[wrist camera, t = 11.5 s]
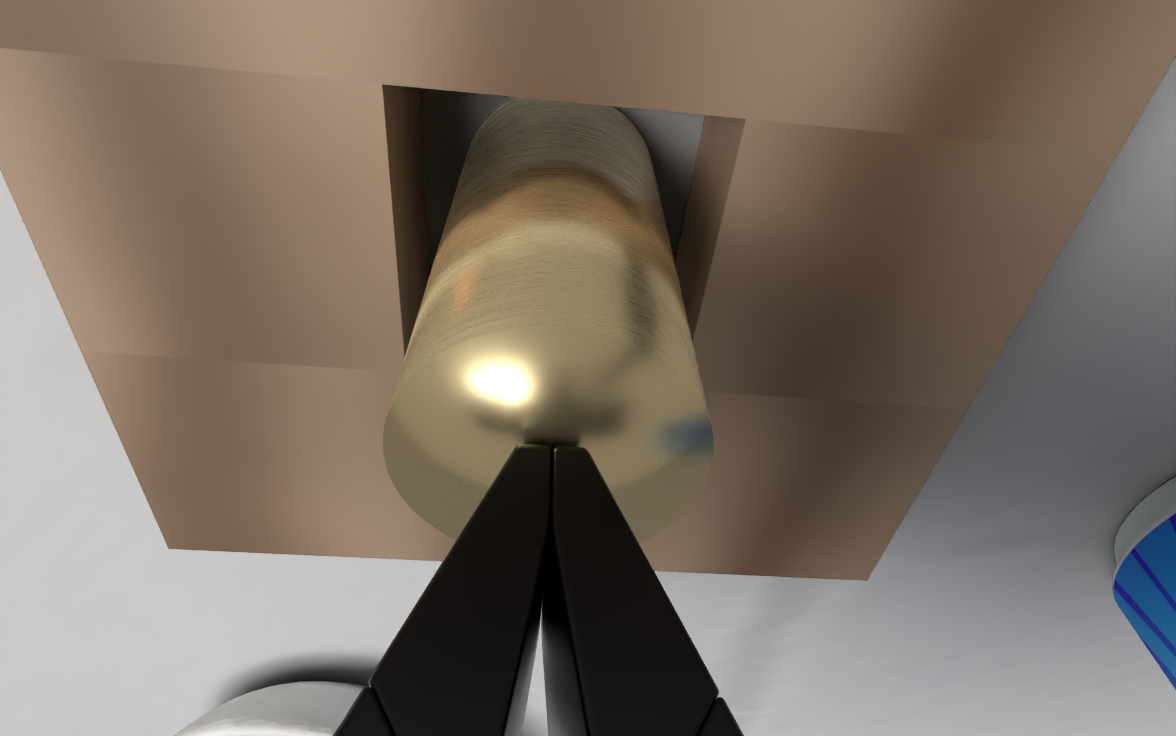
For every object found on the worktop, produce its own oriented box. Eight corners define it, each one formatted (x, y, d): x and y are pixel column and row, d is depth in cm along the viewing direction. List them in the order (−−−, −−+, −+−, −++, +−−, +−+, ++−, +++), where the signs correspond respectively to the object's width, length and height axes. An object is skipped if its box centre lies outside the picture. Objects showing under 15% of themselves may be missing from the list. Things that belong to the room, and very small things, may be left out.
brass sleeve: (668, 98, 14) (749, 341, 7) (638, 274, 16) (680, 567, 10) (462, 78, 13) (366, 315, 7) (464, 261, 16) (394, 553, 10)
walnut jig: (1238, -352, 10) (1446, -403, 8) (833, 494, 21) (867, 580, 19) (-124, -563, 9) (-388, -706, 6) (216, 460, 20) (168, 548, 17)
